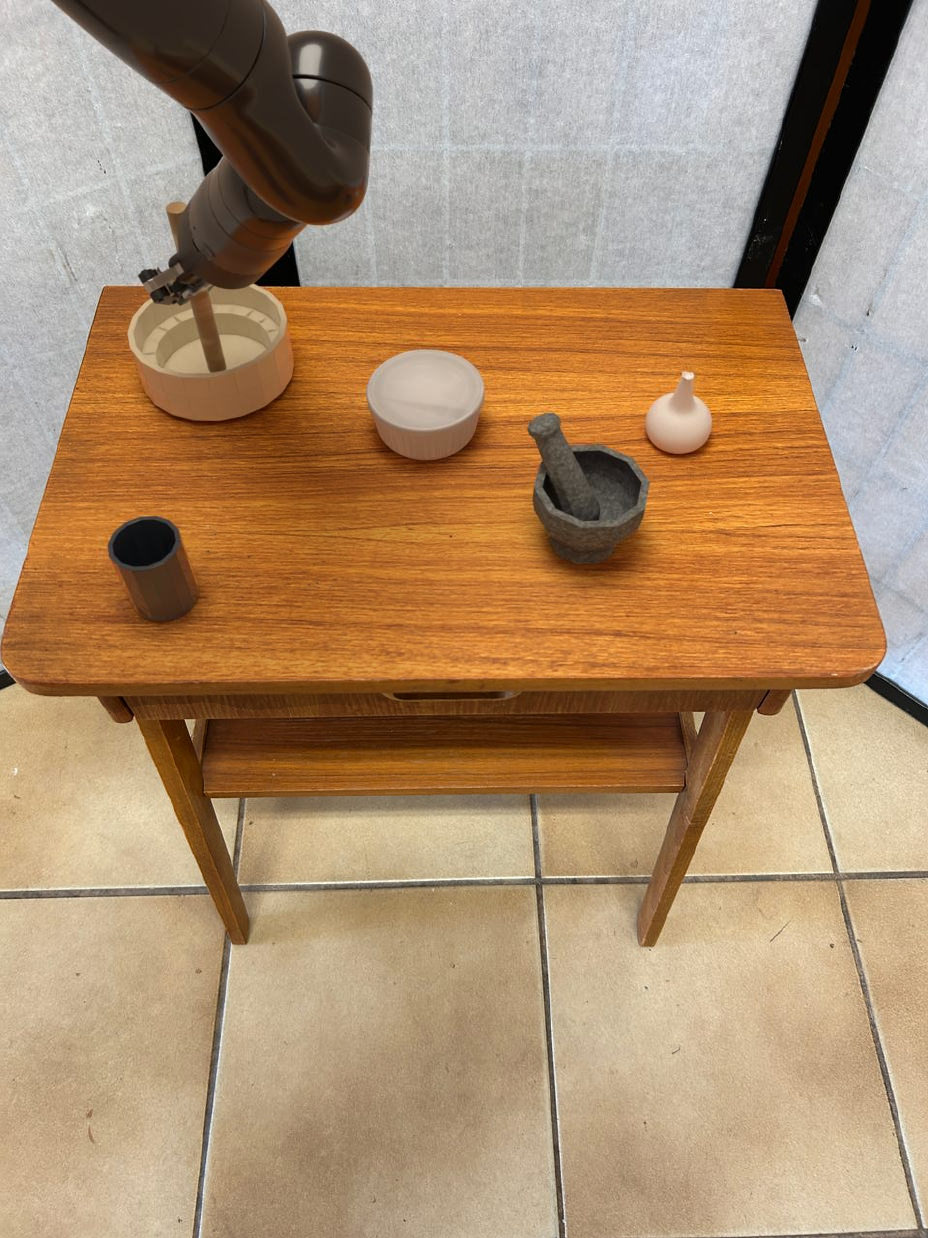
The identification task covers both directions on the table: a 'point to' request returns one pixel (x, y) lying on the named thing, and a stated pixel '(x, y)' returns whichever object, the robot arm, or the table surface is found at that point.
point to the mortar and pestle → (585, 494)
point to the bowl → (180, 366)
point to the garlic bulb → (679, 419)
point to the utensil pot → (154, 568)
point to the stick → (200, 306)
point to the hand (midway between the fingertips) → (187, 289)
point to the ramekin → (425, 403)
